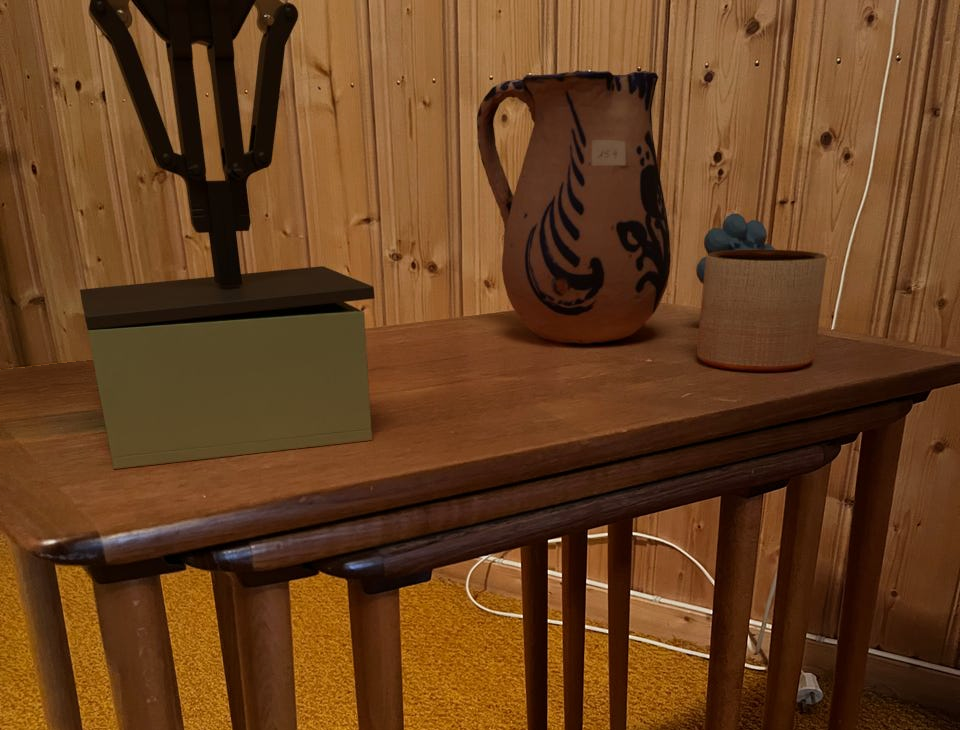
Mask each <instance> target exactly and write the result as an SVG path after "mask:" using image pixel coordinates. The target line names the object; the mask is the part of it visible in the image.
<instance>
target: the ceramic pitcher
mask: <svg viewBox="0 0 960 730" xmlns="http://www.w3.org/2000/svg"><path fill="white" fill-rule="evenodd" d="M658 75H659V74H657V72H651V71H647V70H641V71H633V72H630V73H627V74H622V75H621V74H613V73H612V72H611V71H608V70H604V71H597V70H596V71H595V70H575V71H572V72H570V71H566V72H559V73H550V74H533V75H531V74H526V75H525V76H523V78H515V79H511V80H504V81H502V82H500V83H498V84H496V85H494V86H493V87H491V89H490V90H489V91H488V93H486V95H485V96H484V98H482V101H481V103H480V105H479V108H478V111H477V116H476V125H477V126H476V130H477V131H476V132H477V135H476V137H477V146H478V149H479V155H480V160H481V163H482V166H483V169H484V171H485V174H486V178H487V181H488V185H489V186H490V189H491V191H492V195H493V197H494V199H495V202H496V204H497V207H498V209H499V212H500V216H501V218H502V219H501V220H502V222H503V228H504V234H503V249H502V255H501V261H502V262H501V273H502V280H503V285H504V289H505V292H506V296H507V298H508V301H509V302H510V305H511V307H512V308H513V310H514V312H515V313H516V316H517V317H518V318H519V320H520V321H521V322H522V323H523V324H524V325H525V327H526V328H527V329H528V330H530V331H531V332H532V333H533V334H536V336H538V337H539V338H541V339H545V340H548V341H551V342H558V343H565V344H567V345H569V344H578V345H579V344H580V345H581V344H582V345H585V344H586V345H590V344H595V343H597V344H603V343H606V342H607V343H608V342H613V341H619V340H622V339H625V338H628V337H630V336H632V335H634V334H635V333H636V332H637V331H639V329H641V328H642V326H644V325H645V324H646V323H647V322H648V321H649V319H650V318H651V317H652V316H653V315H654V313H655V312H656V311H657V309H658V307H659V306H660V303H661V301H662V299H663V297H664V294H665V292H666V290H667V288H668V282H669V277H670V273H671V256H672V255H671V238H670V235H671V234H670V228H669V220H668V213H667V209H666V203H665V197H664V190H663V186H662V180H661V176H660V170H659V165H658V159H657V153H656V146H655V141H654V132H653V131H654V130H653V117H652V116H653V115H652V110H653V109H652V108H653V102H654V101H653V100H654V95H655V91H656V86H657V84H658V79H659V76H658ZM508 98H512V99H514V98H516V99H518V100H519V101H521V102H522V103H523V104H526V106H527V108H528V111H529V113H530V118H531V120H532V122H533V127H532V131H531V135H530V138H529V142H528V145H527V147H526V148H527V149H526V152H525V154H524V159H523V162H522V166H521V171H520V172H519V176H518V179H517V182H516V187H515V190H514V193H513V192H512V189H511V187H510V183H509V181H508V179H507V176H506V173H505V170H504V167H503V165H502V164H501V159H500V155H499V152H498V150H497V148H498V147H497V144H496V134H495V126H494V125H495V124H494V121H495V116H496V113H497V111H498V109H499V107H500V104H502V103H503V102H504V101H505V100H506V99H508Z"/></svg>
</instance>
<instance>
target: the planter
mask: <svg viewBox="0 0 960 730" xmlns="http://www.w3.org/2000/svg"><path fill="white" fill-rule="evenodd" d="M705 256H706V261H705V272H704V283H703V284H702V295H701V296H702V297H701V304H700V305H701V306H700V314H699V323H698V333H697V334H698V335H697V343H696V355H697V357H698V358H699V359H700V361H702V362H703V363H704V364H706V365H708V366H711V367H714V368H718V369H723V370H730V371H731V370H732V371H737V372H738V371H740V372H753V373H754V372H757V373H769V372H774V373H775V372H785V371H794V370H798V369H802V368H803V367H805V366H807V365H808V364H810V363H812V362H813V361H814V358H815V356H816V349H817V342H818V341H817V340H818V333H819V324H820V317H821V307H822V301H823V299H822V298H823V291H824V284H825V276H826V268H827V262H828V261H827V260H828V256H827V255H826V254H823V253H819V252H815V251H805V250H792V249H775V250H729V251H718V252H712V253H709V254H708V253H706V255H705Z"/></svg>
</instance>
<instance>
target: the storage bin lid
mask: <svg viewBox="0 0 960 730" xmlns="http://www.w3.org/2000/svg"><path fill="white" fill-rule="evenodd" d="M241 277H242V285H226V286H220V285H219V284H217V283H216V282H215V278H214V276H207V277H206V276H205V277H197V278H185V279H175V280H166V281H165V280H164V281H155V282H145V283H144V282H143V283H134V284H122V285H114V286H113V285H112V286H102V287H93V288H82V289H79V295H80V298H81V305H82V310H83V315H84V320H85V323H86V330H87V329H89V330H90V329H99V328H108V327H118V326H127V325H136V324H145V323H155V322H164V321H173V320H182V319H191V318H201V317H210V316H219V315H228V314H238V313H247V312H256V311H265V310H274V309H284V308H293V307H302V306H311V305H321V304H330V303H339V302H345V303H347V302H356V301H357V302H358V301H365V300H366V301H367V300H374V299H375V297H376V296H375V289H374V286H373V285H371V284H368V283H365V282H363V281H361V280H358V279H356V278H353V277H351V276H349V275H346V274H343V273H341V272H339V271H336V270H334V269H331V268H329V267H326V266H323V265H321V266H319V265H318V266H310V267H309V266H308V267H300V268H299V267H298V268H290V269H277V270H269V271H267V270H266V271H259V272H249V273H241Z"/></svg>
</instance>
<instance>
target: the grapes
mask: <svg viewBox="0 0 960 730" xmlns="http://www.w3.org/2000/svg"><path fill="white" fill-rule="evenodd" d="M767 238H768V233H767V229H766V227H765V225H764V224H763V223H762V222H760V221H759V220H757V219H752V220H749V221H748V222H747V221H746V219H745V217H743V216H742V215H741V214H740V213H733V212H732V213H730V214H729V215H727V216H726V217H725V219H724V221H723V222H722V226H721V227H713V228H711V229H709V230H708V231H707V233H706V235H705V236H704V238H703V239H704V240H703V247H704V249H705V251H706V254H709V253H712V252H718V251H729V250H776V248H775V247H774V246H773V245H771V244H769V243H766V241H767ZM705 261H706V255H705V256H704V257H702V258H701V259H700V260H699V262H698V263H697V265H696V277H697V279H698V280H699V282H700V283H701V284H702V285H703V283H704V272H705Z"/></svg>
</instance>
